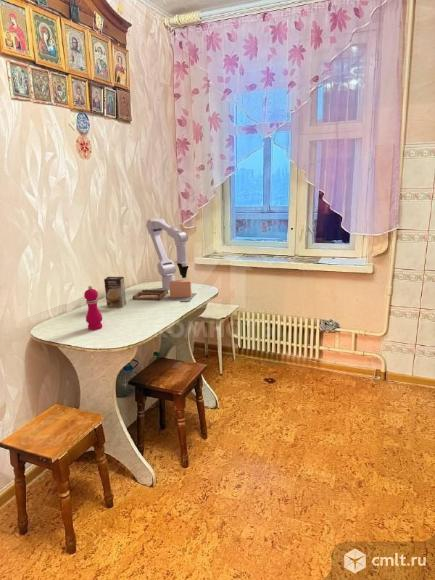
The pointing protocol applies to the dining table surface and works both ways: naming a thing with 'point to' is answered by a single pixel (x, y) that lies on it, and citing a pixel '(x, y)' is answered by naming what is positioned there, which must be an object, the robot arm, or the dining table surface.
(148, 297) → the offcut top
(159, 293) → the rack
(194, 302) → the dining table surface
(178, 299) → the mat
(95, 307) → the pepper mill
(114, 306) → the coffee box
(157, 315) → the dining table surface
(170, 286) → the salmon orange block
